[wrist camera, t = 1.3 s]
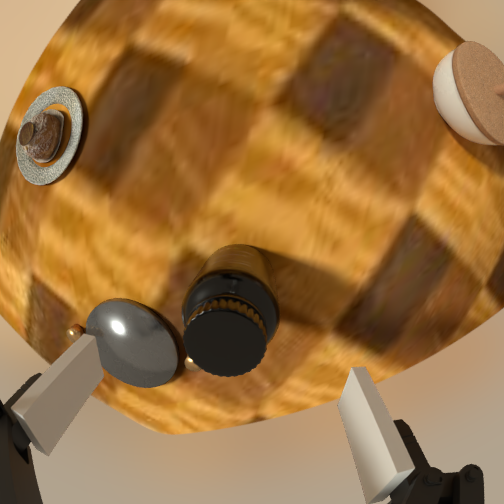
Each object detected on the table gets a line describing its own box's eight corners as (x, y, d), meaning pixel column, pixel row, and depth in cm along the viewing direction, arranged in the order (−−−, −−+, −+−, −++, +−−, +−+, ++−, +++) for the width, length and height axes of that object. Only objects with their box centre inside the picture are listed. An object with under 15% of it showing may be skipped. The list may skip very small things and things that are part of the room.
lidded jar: (425, 145, 22) (485, 136, 13) (407, 54, 20) (452, 20, 11) (487, 152, 22) (541, 152, 13) (471, 72, 19) (517, 55, 10)
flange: (65, 286, 27) (58, 291, 26) (206, 310, 27) (203, 317, 26) (81, 365, 30) (76, 371, 29) (205, 394, 30) (203, 402, 29)
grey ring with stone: (13, 170, 24) (-10, 171, 20) (42, 83, 21) (20, 76, 17) (67, 198, 25) (41, 202, 21) (103, 96, 22) (80, 85, 18)
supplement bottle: (280, 302, 27) (292, 383, 15) (213, 314, 27) (186, 394, 16) (267, 235, 25) (273, 280, 14) (195, 249, 26) (148, 301, 14)
